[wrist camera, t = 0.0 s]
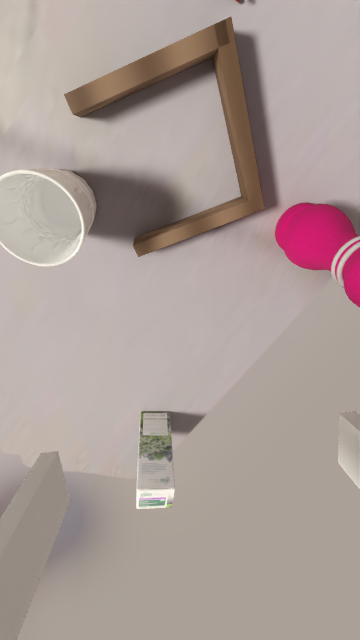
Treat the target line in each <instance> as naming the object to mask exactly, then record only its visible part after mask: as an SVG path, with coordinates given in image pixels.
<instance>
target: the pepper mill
mask: <svg viewBox="0 0 360 640" xmlns="http://www.w3.org/2000/svg"><path fill="white" fill-rule="evenodd" d="M275 237H276V241H277V243H278V245H279V246H280V247H281V248H282V249H283V250H284V251H285V254H286V256H287V257H288V259H289V260H290V261H291V262H293V263H294V264H296V265H298V266H299V267H302V268H305V269H311V270H329V271H331V274H332V277H333V279H334V281H335V282H336V283H338V284H339V285H341V286H342V287H343V288H344V289H345V292H346V294H347V296H348V298H349V299H350V300H351V301H352V302H353V303H355V304H356V305H357V306H358V307H360V236H359V235H357V234H356V233H355V230H354V228H353V225H352V223H351V221H350V220H349V218H348V217H347V216H346V214H344V213H343V212H342V211H341V210H339V209H338V208H336V207H334V206H331V205H327V204H317V205H314V204H311V203H300V204H296V205H294V206H292V207H291V208H289V209H288V210H287V211H286V212H285V213H284V214H283V215H282V216H281V217H280V219H279V221H278V223H277V226H276V231H275Z"/></svg>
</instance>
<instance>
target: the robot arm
mask: <svg viewBox="0 0 360 640" xmlns="http://www.w3.org/2000/svg"><path fill="white" fill-rule="evenodd" d="M339 416H340V417H339V452H338V463H339V465H340V466H341V467H342V468H343V469H344V471H345V472H346V473H347V474H348V475H349V477H350V478H351V479H352V480H353V482H354V483H355V484H356V485H357V486H358V488H359V489H360V415H359V414H358V413H357V412H355V411H353V412H346V413H340V415H339ZM69 503H70V496H69V492H68V489H67V485H66V481H65V477H64V473H63V469H62V465H61V461H60V458H59V454H58V451H56V452H48V453H41V454H40V456H39V457H38V459H37V461H36V462H35V464H34V466H33V467H32V469H31V470H30V472H29V474H28V475H27V477H26V478H25V480H24V482H23V483H22V485H21V486H20V488H19V490H18V491H17V493H16V494H15V496H14V498H13V499H12V501H11V502H10V504H9V506H8V508H7V509H6V510H5V512H4V514H3V515H2V517H1V519H0V640H17V638H18V635H19V632H20V630H21V627H22V625H23V622H24V619H25V617H26V614H27V612H28V609H29V606H30V604H31V601H32V598H33V596H34V593H35V591H36V588H37V586H38V583H39V580H40V578H41V575H42V573H43V570H44V568H45V565H46V562H47V560H48V557H49V555H50V552H51V549H52V547H53V544H54V542H55V539H56V536H57V533H58V531H59V529H60V526H61V523H62V521H63V518H64V516H65V513H66V511H67V508H68V505H69Z"/></svg>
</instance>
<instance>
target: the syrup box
mask: <svg viewBox="0 0 360 640" xmlns="http://www.w3.org/2000/svg"><path fill="white" fill-rule="evenodd" d="M174 491H175V484H174V469H173V454H172V439H171V424H170V413H169V412H141V413H140V429H139V451H138V470H137V503H136V504H137V505H136V507H137V509H148V508H168V507H172V504H173V499H174Z"/></svg>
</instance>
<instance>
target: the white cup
mask: <svg viewBox="0 0 360 640" xmlns="http://www.w3.org/2000/svg"><path fill="white" fill-rule="evenodd" d="M96 207H97V204H96V200H95V197H94V193H93V191H92V189H91V188H90V187H89V185H88V184H87V183H86V181H85V180H84V179H83V178H81V177H80V176H78V175H76V174H75V173H73V172H71V171H66V170H58V169H30V170H16V171H12V172H8V173H6V174H4V175H2V176H1V177H0V244H1V245H2V246H3V247H4V248H5V249H6V250H7V251H9V252H10V253H11V254H12V255H14V256H15V257H17V258H19V259H21V260H23V261H25V262H27V263H30V264H33V265H38V266H56V265H60V264H63V263H65V262H67V261H69V260H70V259H72V258H73V257H74V256H75V255H76V254H77V253H78V251H79V250H80V248H81V246H82V244H83V242H84V240H85V238H86V236H87V235H88V233H89V231H90V228H91V226H92V223H93V220H94V219H95V213H96Z"/></svg>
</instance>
